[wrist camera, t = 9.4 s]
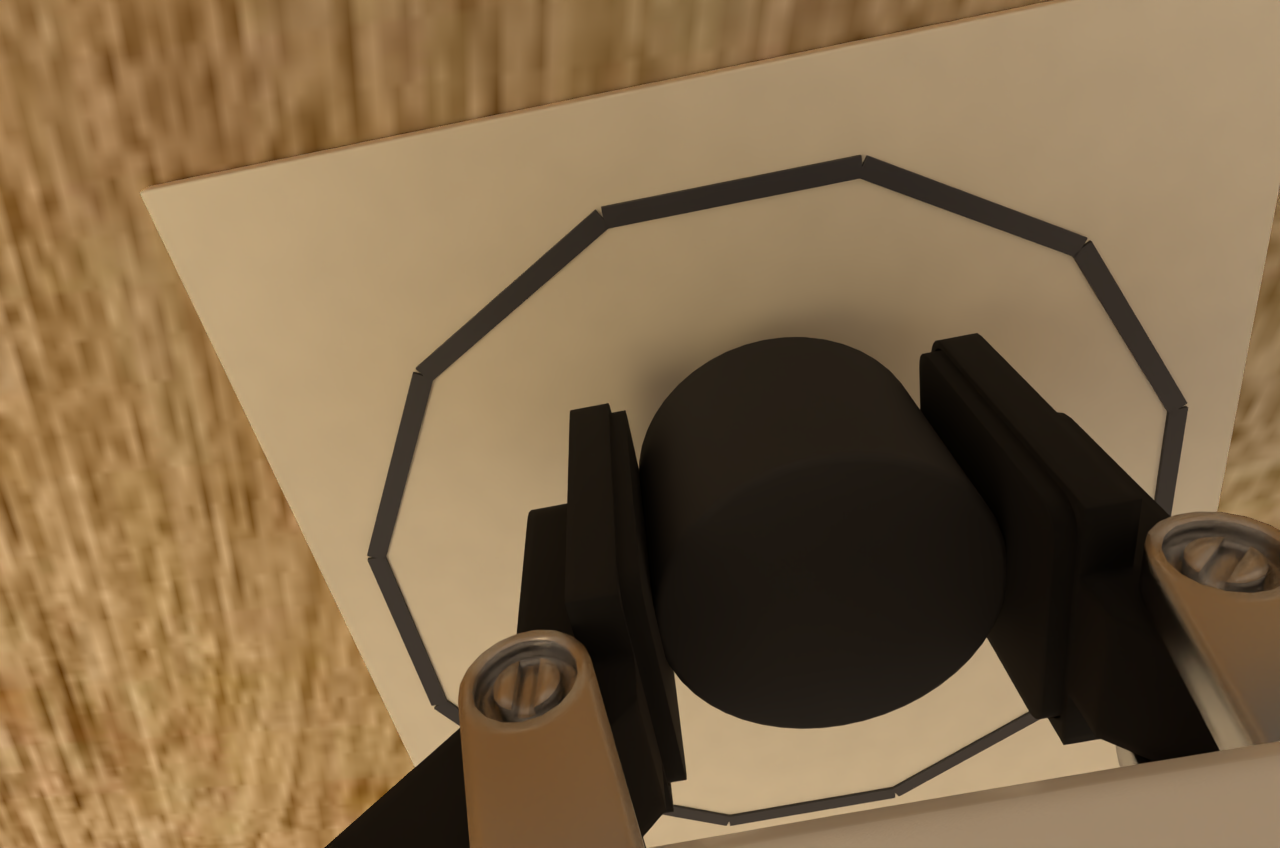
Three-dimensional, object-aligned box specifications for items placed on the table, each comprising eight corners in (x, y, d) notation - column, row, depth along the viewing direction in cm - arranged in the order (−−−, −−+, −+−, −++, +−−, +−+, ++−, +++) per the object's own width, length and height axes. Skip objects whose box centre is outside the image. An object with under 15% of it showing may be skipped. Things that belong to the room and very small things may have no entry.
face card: (147, 186, 11) (135, 192, 11) (1308, -54, 11) (1330, -53, 10) (481, 892, 19) (479, 908, 19) (1156, 778, 19) (1166, 792, 18)
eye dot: (613, 365, 11) (622, 496, 9) (916, 307, 11) (1018, 421, 8) (663, 594, 13) (682, 756, 11) (922, 548, 13) (1006, 701, 10)
